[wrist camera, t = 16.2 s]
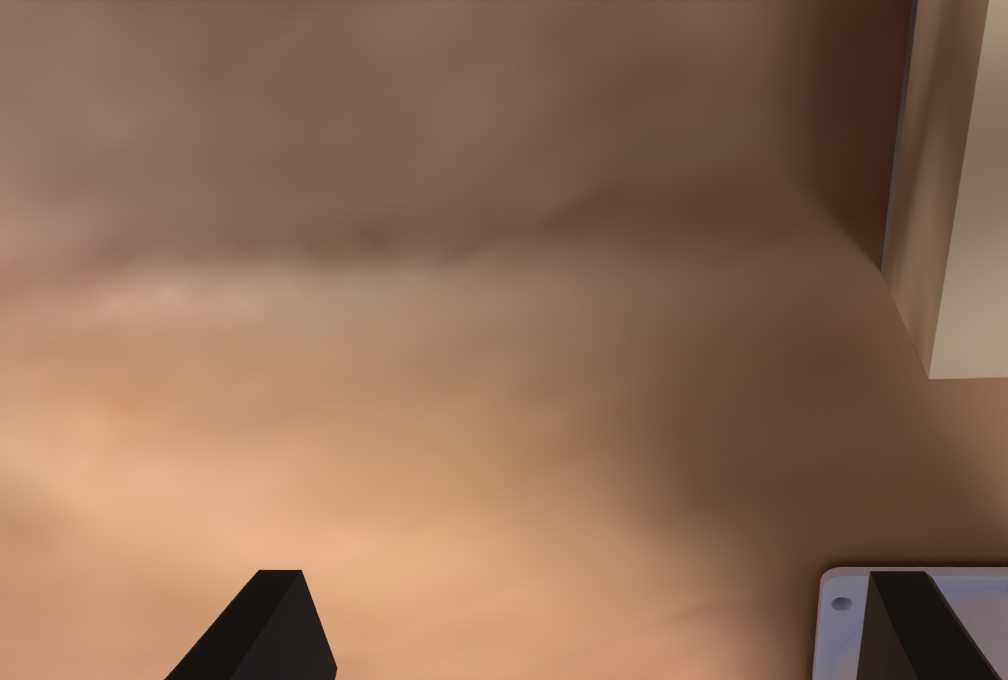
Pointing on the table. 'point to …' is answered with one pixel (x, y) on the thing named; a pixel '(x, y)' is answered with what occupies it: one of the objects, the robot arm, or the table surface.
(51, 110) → the table surface
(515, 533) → the table surface
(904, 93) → the block
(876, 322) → the table surface
